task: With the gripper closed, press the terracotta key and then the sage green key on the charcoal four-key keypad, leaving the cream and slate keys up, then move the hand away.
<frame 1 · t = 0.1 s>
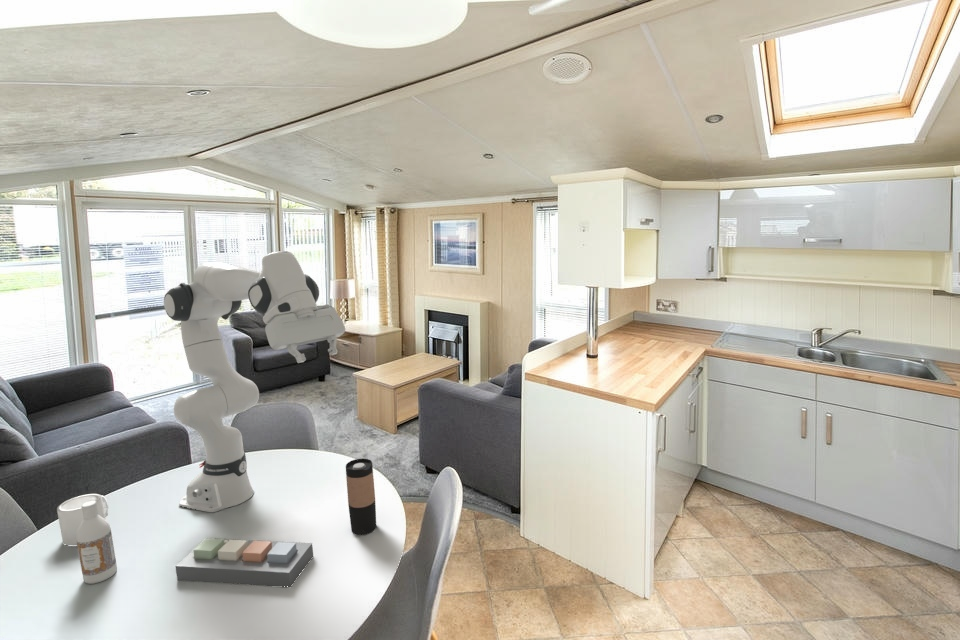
hand: (318, 357, 124), 54 cm above the table, tool tilted 30°, fingers open, 8 cm apart
sage key: (209, 551, 129), point 4 cm above the table, slide at 0.0 cm
keypad: (247, 568, 128), on the table
cream key: (233, 552, 128), point 4 cm above the table, slide at 0.0 cm
slate key: (282, 555, 126), point 4 cm above the table, slide at 0.0 cm
terracotta key: (257, 554, 127), point 4 cm above the table, slide at 0.0 cm
travel mug: (364, 529, 144), on the table
bath foam: (101, 576, 127), on the table
mug: (89, 534, 147), on the table
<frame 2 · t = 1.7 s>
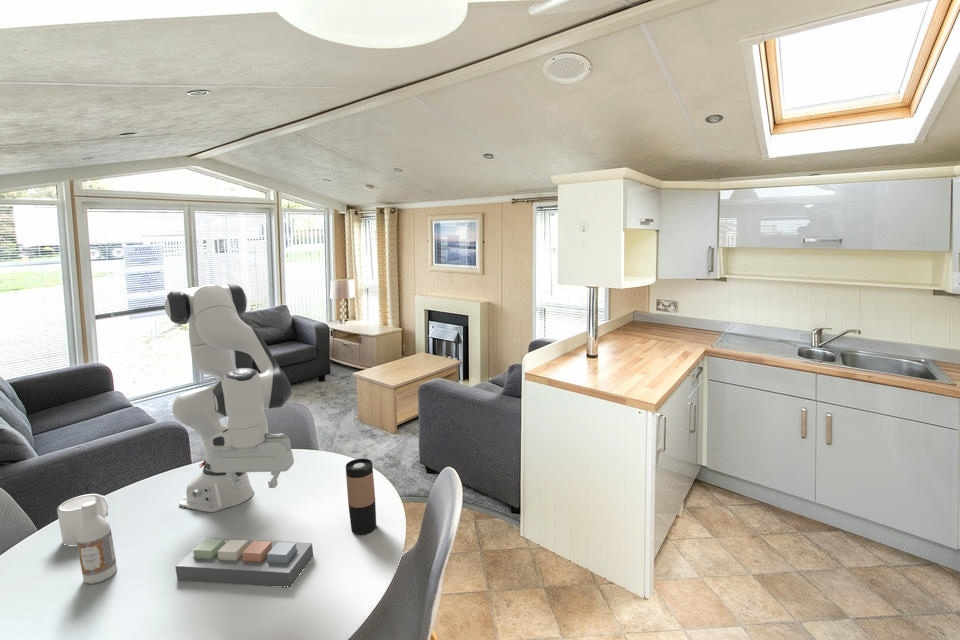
hand: (255, 487, 124), 23 cm above the table, tool pointing down, fingers open, 8 cm apart
nothing on the table moved.
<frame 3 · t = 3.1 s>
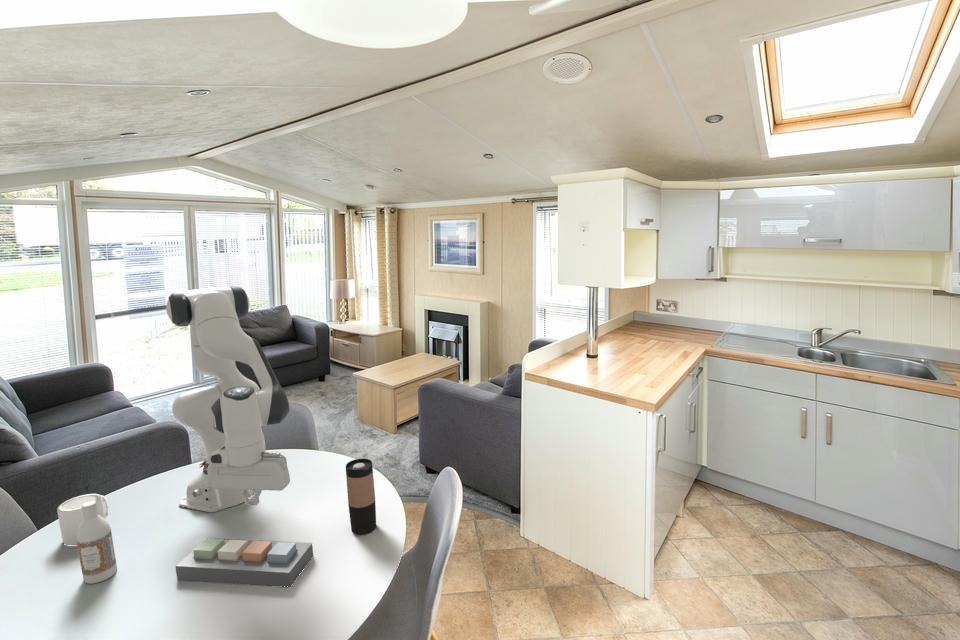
hand: (252, 504, 125), 18 cm above the table, tool pointing down, fingers closed
nothing on the table moved.
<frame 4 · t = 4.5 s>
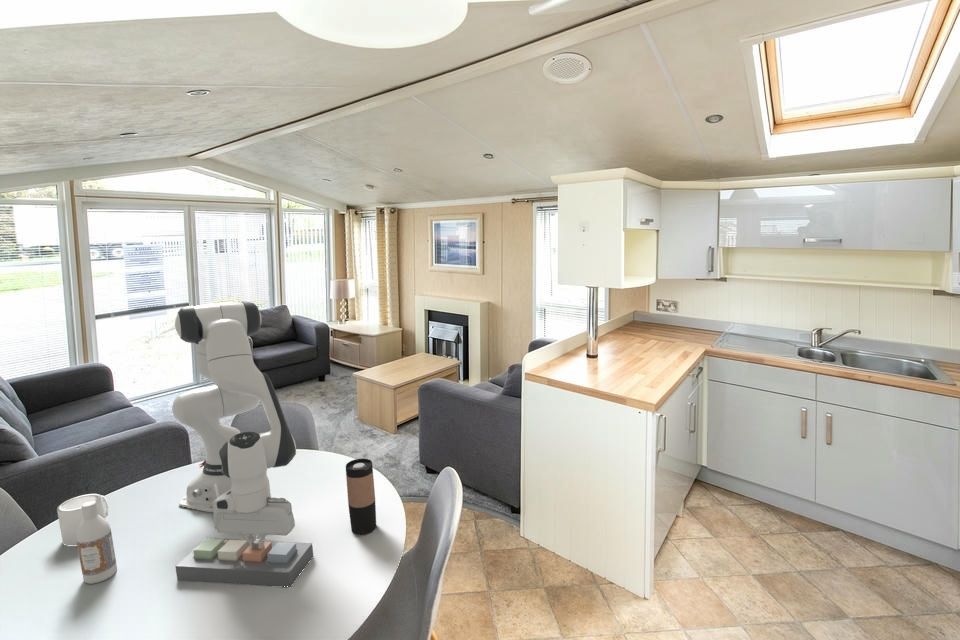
hand: (257, 547, 126), 6 cm above the table, tool pointing down, fingers closed, pressing on terracotta key
terracotta key: (257, 554, 127), point 4 cm above the table, slide at 0.1 cm, touching gripper
everything else where it was.
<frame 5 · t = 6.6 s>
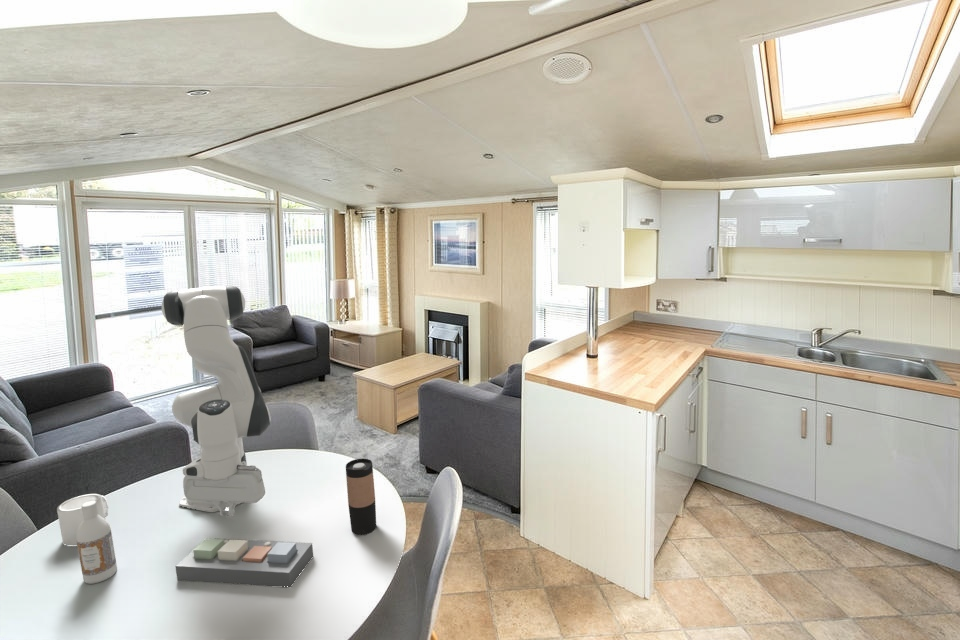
hand: (227, 515, 127), 14 cm above the table, tool pointing down, fingers closed
terracotta key: (258, 559, 127), point 3 cm above the table, slide at 1.5 cm
everything else where it was.
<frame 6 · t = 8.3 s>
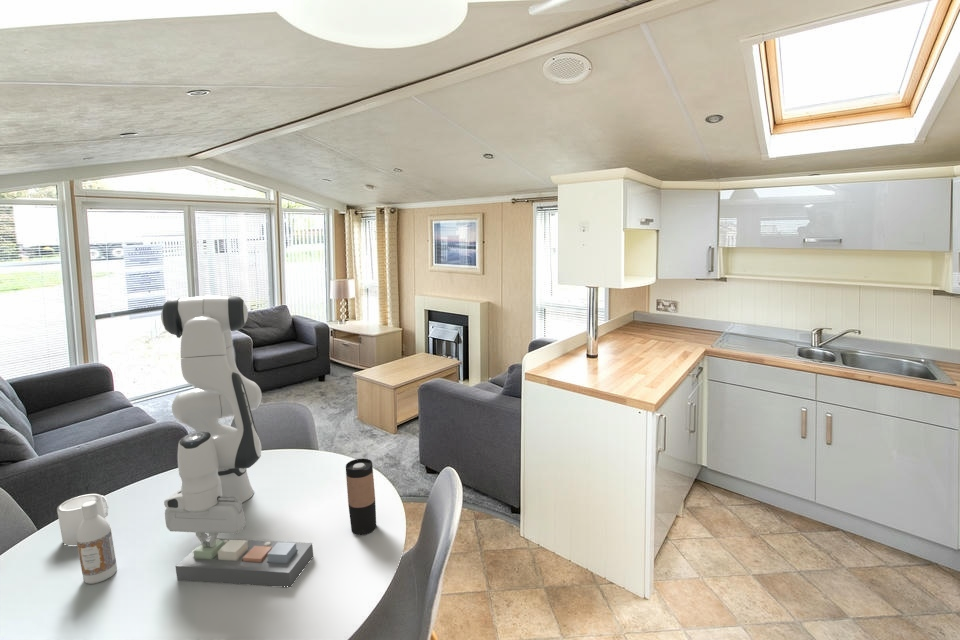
hand: (209, 545, 128), 6 cm above the table, tool pointing down, fingers closed, pressing on sage key
sage key: (209, 552, 129), point 4 cm above the table, slide at 0.3 cm, touching gripper
everything else where it was.
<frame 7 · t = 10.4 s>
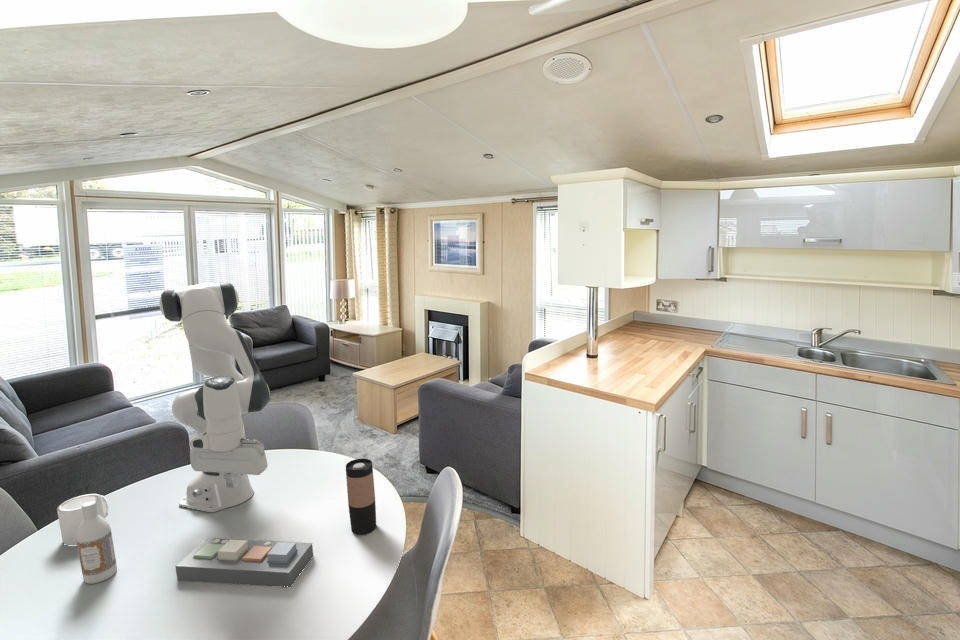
hand: (232, 486, 132), 19 cm above the table, tool pointing down, fingers closed
sage key: (210, 556, 129), point 3 cm above the table, slide at 1.5 cm
everything else where it was.
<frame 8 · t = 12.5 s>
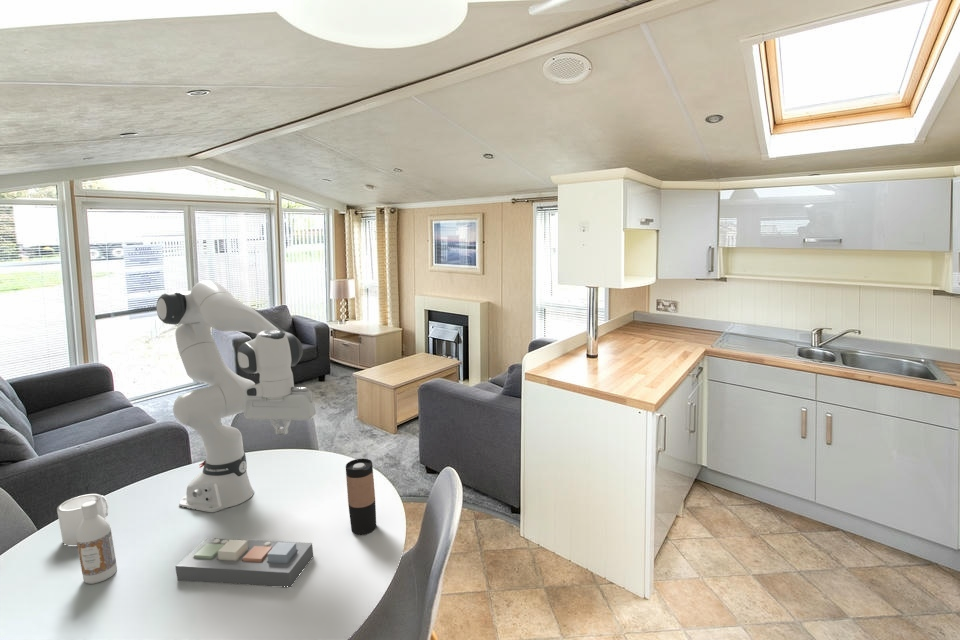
hand: (282, 433, 142), 29 cm above the table, tool pointing down, fingers closed
nothing on the table moved.
at the end: terracotta key slide at 1.5 cm; sage key slide at 1.5 cm; cream key slide at 0.0 cm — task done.
